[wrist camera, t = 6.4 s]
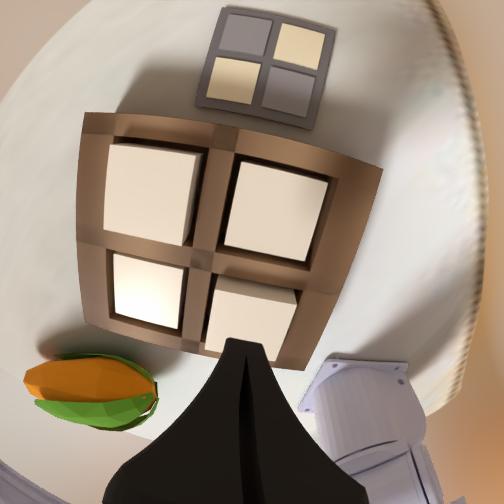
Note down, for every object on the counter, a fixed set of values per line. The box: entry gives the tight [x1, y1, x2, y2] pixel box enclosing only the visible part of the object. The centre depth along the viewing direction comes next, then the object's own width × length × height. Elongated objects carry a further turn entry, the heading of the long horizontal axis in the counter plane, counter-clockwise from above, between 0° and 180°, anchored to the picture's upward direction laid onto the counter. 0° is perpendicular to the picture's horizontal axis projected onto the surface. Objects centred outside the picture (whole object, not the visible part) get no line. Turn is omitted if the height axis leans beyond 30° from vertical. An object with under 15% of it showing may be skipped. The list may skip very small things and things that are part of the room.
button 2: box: [224, 159, 328, 261], centre depth 15 cm, size 4×4×2 cm
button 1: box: [205, 274, 297, 361], centre depth 16 cm, size 4×4×2 cm
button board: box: [76, 112, 383, 371], centre depth 16 cm, size 16×14×4 cm
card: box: [195, 7, 335, 130], centre depth 13 cm, size 7×7×1 cm
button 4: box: [104, 143, 204, 246], centre depth 13 cm, size 4×4×2 cm
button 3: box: [114, 251, 189, 329], centre depth 17 cm, size 4×4×2 cm
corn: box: [23, 353, 159, 431], centre depth 20 cm, size 7×8×20 cm
